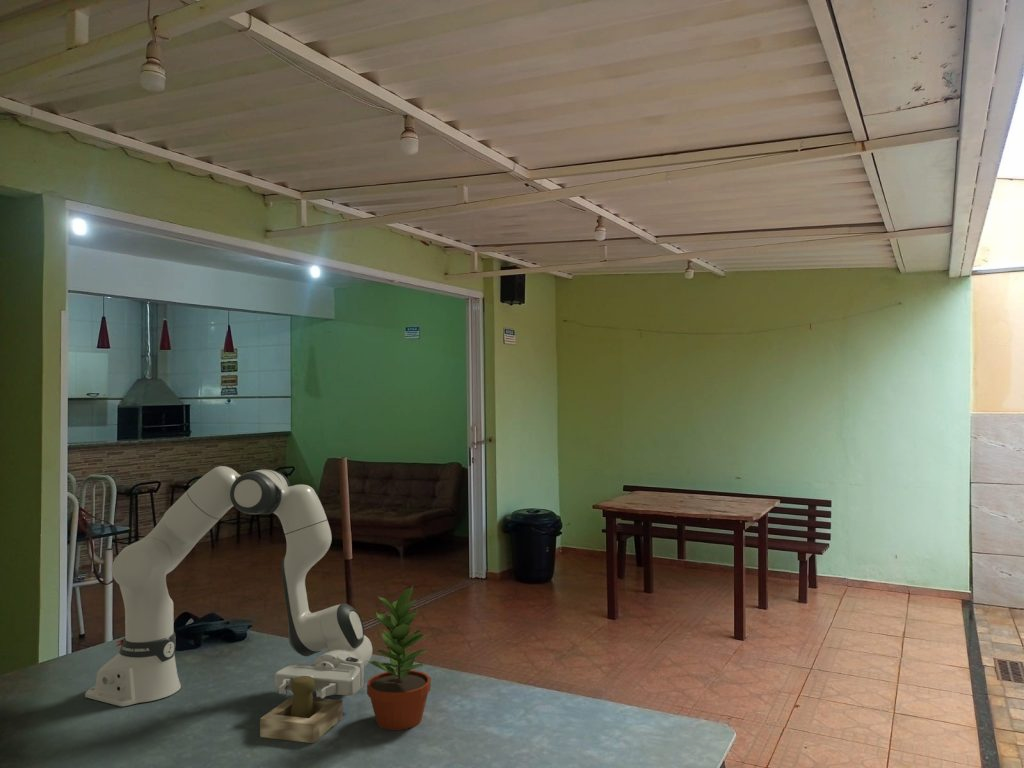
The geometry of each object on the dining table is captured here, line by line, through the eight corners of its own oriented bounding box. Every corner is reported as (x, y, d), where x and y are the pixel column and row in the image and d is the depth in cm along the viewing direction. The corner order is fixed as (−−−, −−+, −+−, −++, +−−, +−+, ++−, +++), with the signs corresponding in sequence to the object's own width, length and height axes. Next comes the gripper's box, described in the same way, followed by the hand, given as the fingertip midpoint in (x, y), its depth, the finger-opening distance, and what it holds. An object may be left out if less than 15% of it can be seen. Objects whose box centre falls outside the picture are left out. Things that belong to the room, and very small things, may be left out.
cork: (309, 733, 162) (309, 683, 163) (284, 731, 163) (283, 681, 164) (321, 721, 168) (321, 673, 169) (296, 720, 169) (296, 671, 170)
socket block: (260, 736, 161) (260, 718, 161) (292, 712, 174) (292, 695, 174) (313, 743, 158) (313, 724, 158) (342, 717, 170) (342, 700, 170)
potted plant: (352, 730, 164) (351, 594, 165) (388, 703, 178) (387, 578, 179) (411, 740, 158) (410, 600, 159) (443, 712, 173) (442, 583, 173)
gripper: (292, 654, 181) (259, 674, 168) (368, 660, 176) (340, 682, 163) (293, 680, 181) (259, 702, 168) (369, 687, 176) (341, 711, 162)
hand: (300, 692), depth 165 cm, fingers open, 8 cm apart
